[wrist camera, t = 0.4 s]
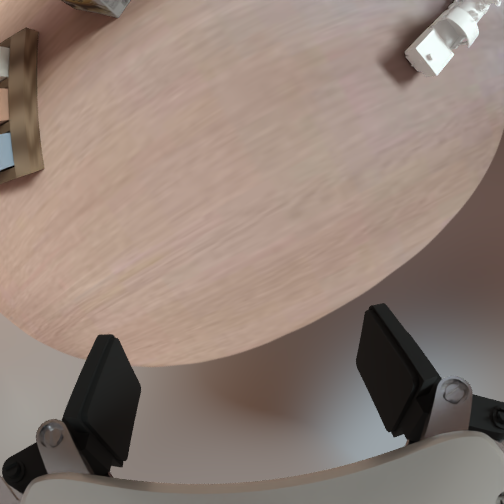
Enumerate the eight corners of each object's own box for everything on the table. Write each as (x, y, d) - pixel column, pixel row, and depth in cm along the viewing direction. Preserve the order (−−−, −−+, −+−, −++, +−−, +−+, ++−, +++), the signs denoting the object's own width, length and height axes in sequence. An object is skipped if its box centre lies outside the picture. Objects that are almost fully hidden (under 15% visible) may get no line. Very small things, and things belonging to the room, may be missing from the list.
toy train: (480, 9, 25) (514, 3, 16) (419, 83, 33) (462, 80, 24) (460, -16, 23) (493, -26, 14) (392, 51, 31) (433, 40, 22)
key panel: (-11, 61, 23) (-24, 59, 20) (38, 31, 24) (26, 27, 20) (-4, 184, 33) (-17, 190, 29) (44, 168, 33) (31, 173, 30)
